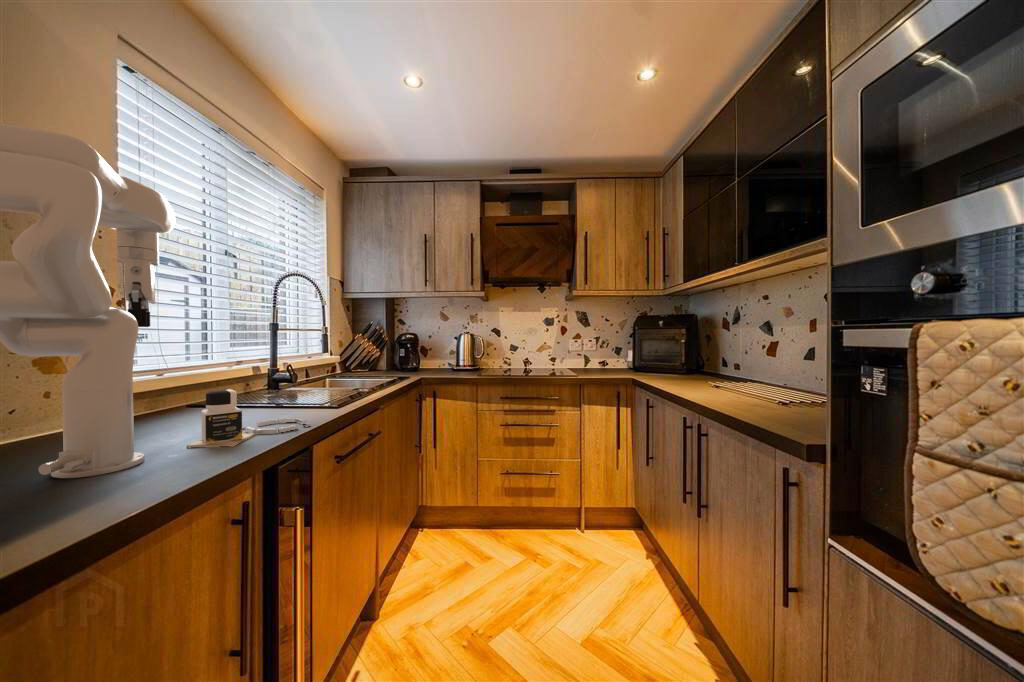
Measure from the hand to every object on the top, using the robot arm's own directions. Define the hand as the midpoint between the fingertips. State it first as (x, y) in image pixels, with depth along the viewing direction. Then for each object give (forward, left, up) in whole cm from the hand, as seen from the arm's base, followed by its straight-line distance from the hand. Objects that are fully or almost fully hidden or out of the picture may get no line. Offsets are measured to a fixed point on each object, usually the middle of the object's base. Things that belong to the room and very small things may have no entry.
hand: (139, 326), depth 97 cm
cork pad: (-5, -21, -28) cm, 36 cm away
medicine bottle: (-5, -21, -28) cm, 35 cm away
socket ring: (+8, -28, -28) cm, 41 cm away
